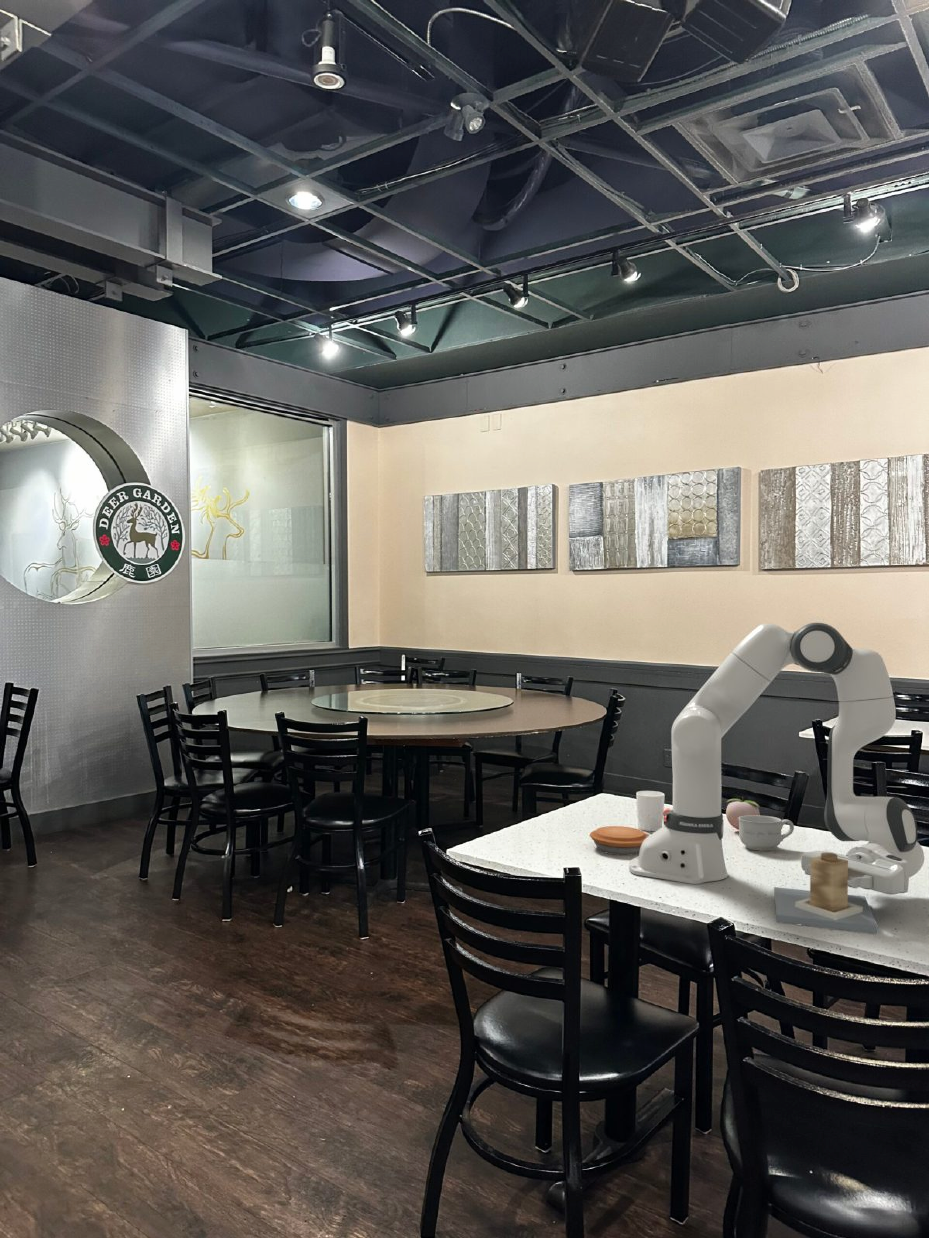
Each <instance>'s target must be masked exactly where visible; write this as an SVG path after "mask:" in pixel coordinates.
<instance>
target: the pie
mask: <svg viewBox="0 0 929 1238" xmlns="http://www.w3.org/2000/svg"><path fill="white" fill-rule="evenodd" d="M648 836H650V834H648V833H646V832H645V831H644V830H641V829H639V828H636V827H629V826H621V825H620V826H619V825H615V826H614V825H609V826H601V827H599V828H597V829H595V830H592V831H591V832H590V834H589V837H590V838H591V839H592V840H593V843H594V845H595V846H596V849H598V851H600V850H601V851H600V852H603V853H605V852H607V853H606V854H610V853H611V854H610V855H617V854H619V855H620V856H629V855H630V856H631V854H632V855H637V854H639V851H640V848H641V845H642V843H643V841H644V840H645V839H646V838H647V837H648ZM636 853H637V854H636Z"/></svg>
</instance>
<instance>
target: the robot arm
mask: <svg viewBox="0 0 929 1238" xmlns="http://www.w3.org/2000/svg"><path fill="white" fill-rule="evenodd" d="M789 665H796V666H798V667H801V669H804V670H805V671H808V672H811V673H822V674H827V675H830V677H832V679H833V681H834V684H835V686H836V692H837V701H838V717H837V720H836V723H835V725H833V726H832V727H831V728H830V731H829V735H828V739H827V741H828V742H827V771H826V772H827V781H826V782H827V788H826V791H827V793H826V800H825V801H826V802H825V805H824V806H825V808H824V815H823V817H824V818H823V819H824V823H825V826H826V828H827V830H828V831H829V832H830V833H831V834H832V835H833V836H834V837H835V838H836V839H837V840H838V841H841V842H868V843H865V844H862V845H857V846H854V847H852V848H850V849H849V850H848V851H847V852H846V855H844V854H842V853H836V852H834V851H828V850H813V851H807V852H802V854H801V856H800V857H801V858H800V863H801V864H800V865H801V869H802V871H804V874H805V875H807V876H810V858H814V857H818V856H821V853H834V854H836V855H837V858H839V859H843V860H847V861H848V879H847V882H848V883H847V886H848V888H852V889H858V888H861V889H863V890H867V891H869V890H871V891H874V892H878V893H882V894H885V895H897V894H905V893H908V892H909V883H910V878H911V877H913V876H916V874H917V873H919V872H920V870H921V868H922V867H923V865H924V862H925V852H924V850H923V847H922V846H921V844H920V843H919V842H918V834H919V833H918V824H917V823H918V822H917V819H916V816H915V814H914V812H913V811H912V809H911V807H910V806H909V805H908V804H907V803H906V802H905V800H903V799H902V798H900V797H896V796H858V795H856V794H855V793H854V758H855V755H856V754H857V752H858V751H859V750H860V749H862V748H863V747H865V746H866V745H868V744H871V743H873V742H875V741H877V740H879V739H880V738H882V737H884V736H885V735H887V734H888V732H889V731H891V729H892V727H893V726H894V724H895V722H896V712H897V711H896V704H895V698H894V694H893V693H894V691H893V687H892V684H891V679H890V675H889V672H888V668H887V667H886V663H885V660H884V659H883V656H882V655H881V654H879V652H877V651H874V650H872V649H868V648H853V647H852V646H851V645H850V644H849V643H848V642H847V640H845V638H844V637H843V635H842V634H841V633H840V631H838V630H837V629H836V628H835V627H834V626H832V625H829V624H827V623H824V622H811V623H807V624H805V625H802V627H800V628H799V629H797V630H795V631H788V630H786V629H784V628H782V626H779V625H777V624H775V623H769V622H764V623H761V624H759V625H758V626H756V627H755V628H754V629H753V630H752V631H750V632H749V633H748V634H747V635H746V636H745V637H744V638H743V639H742V640H740V642H739V643H738V644H737V645H736V646H735V647H734V649H732V651H731V652H730V653H729V654H728V655H727V657H725V659H723V662H722V663H721V664H720V665H719V666H718V668H716V670H715V671H714V672H713V673H712V674H711V676H710V677H709V678H708V679H707V680H706V682H705V683H704V684H703V685H702V686H701V688H700V689H699V690H698V691H697V692H696V693H695V695H694V696H693V697H692V698H691V700H690V701H689V702H688V703H687V704H686V706H685V707H684V708H683V709H682V710H681V711H680V713H679V714H678V715H677V716H676V718H675V720H674V721H673V723H672V726H671V731H670V733H671V736H670V737H671V739H670V740H671V764H672V765H671V767H672V768H671V769H672V809H671V808H664V812H663V825H662V828H660V829H659V830H657V831H653V832H652V833H651V834H649V836H648V837H647V838H646V839H645V840H644V841H643V843H642V845H641V848H640V851H639V853H638V856H635V857H634V858H632V859H631V860H630V862H629V867H628V869H629V871H630V873H632V874H633V875H637V876H642V877H649V878H654V879H662V880H667V881H674V882H680V883H685V884H690V885H691V884H692V885H699V884H703V883H706V882H714V881H715V882H716V881H720V880H724V879H726V878H727V877H728V875H729V873H728V871H727V867H726V863H725V858H724V857H725V856H724V851H723V840H722V839H723V837H724V815H723V814H722V738H723V737H724V736H725V734H726V733H728V731H729V730H730V729H731V727H733V726H734V724H735V723H737V721H739V719H740V718H741V717H742V716H743V715H744V714H745V713H746V712H747V711H748V710H749V708H750V707H751V706H752V705H753V704H754V703H755V702H756V700H757V699H758V698H759V697H760V696H761V695H762V693H763V692H764V691H765V690H766V688H767V687H768V686H769V685H770V684H771V683H772V682H773V681H774V680H775V678H776V677H777V676H778V674H779V673H780V672H781V671H782V670H783V669H784V668H786V667H787V666H789Z"/></svg>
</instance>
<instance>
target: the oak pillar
mask: <svg viewBox="0 0 929 1238" xmlns="http://www.w3.org/2000/svg"><path fill="white" fill-rule="evenodd" d="M834 853H835V852H833V853H821V856H818V857H814V858H810V875H809V878H810V879H809V883H810V885H809V891H810V905H812V906H815V907H818V908H821V909H825V910H828V911H831V912H834V913H835V912H838V911H841V910H844V909H847V908H848V895H849V893H848V891H849V890H848V889H849V887H848V886H847V883H848V882H847V879H848V861H847V860H843V859H839V858H837V855H836V854H834Z"/></svg>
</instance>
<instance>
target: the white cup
mask: <svg viewBox="0 0 929 1238" xmlns="http://www.w3.org/2000/svg"><path fill="white" fill-rule="evenodd" d="M665 795H666V794H665V793H663V792H661V791H655V790H640V791H636V796H635V797H636V816H637V829H639V830H641V831H644V832H645V831H646V832H656V831H657V830H659V829H660V828H662V827H663V823H664V815H663V812H664V810H665Z"/></svg>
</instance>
